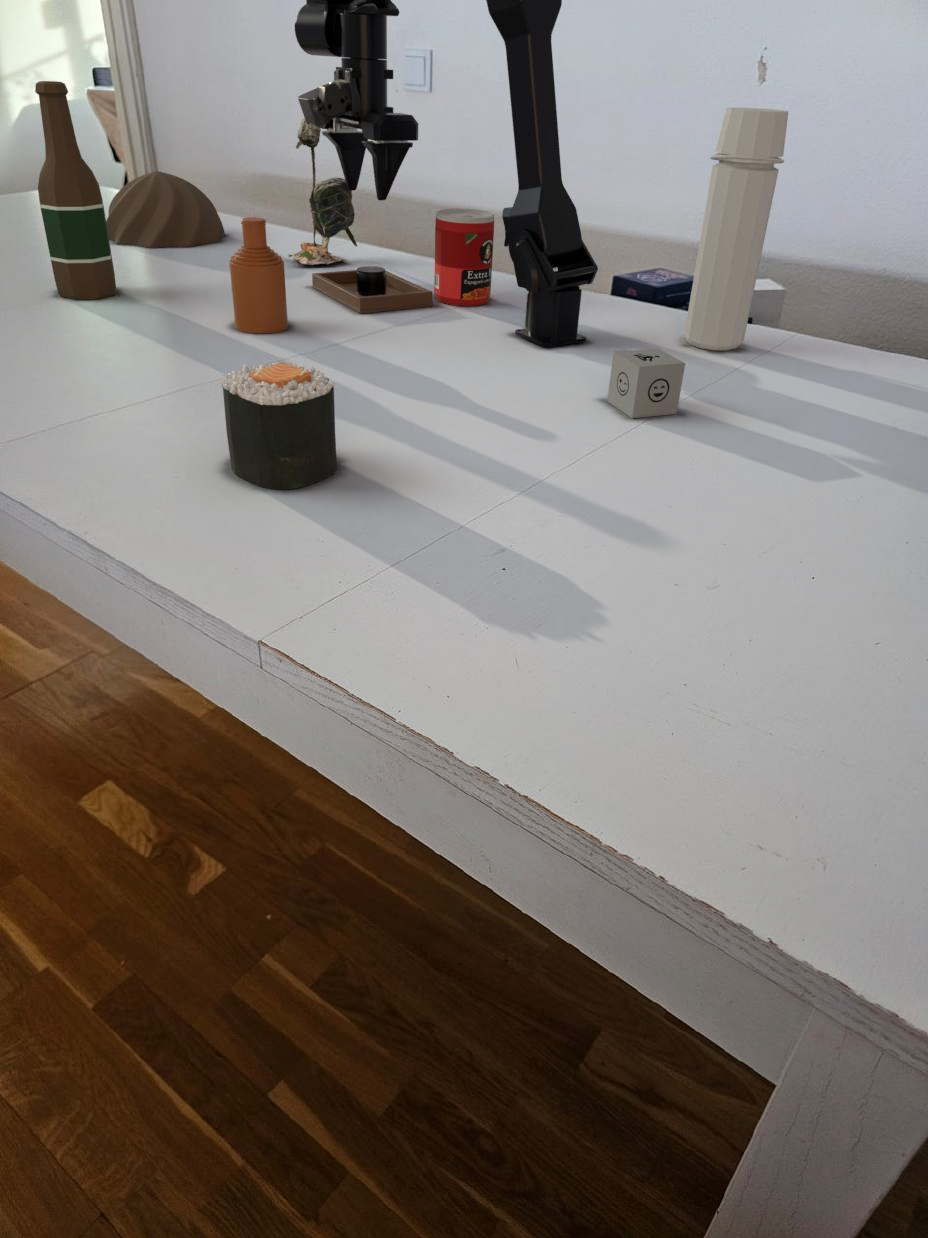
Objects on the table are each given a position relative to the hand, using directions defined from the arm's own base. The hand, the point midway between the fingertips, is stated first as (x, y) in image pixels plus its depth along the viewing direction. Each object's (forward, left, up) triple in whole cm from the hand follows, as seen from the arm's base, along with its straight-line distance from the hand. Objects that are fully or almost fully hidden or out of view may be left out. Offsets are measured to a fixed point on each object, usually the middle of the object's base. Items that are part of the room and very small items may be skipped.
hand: (366, 194), depth 121 cm
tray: (-5, +2, -12) cm, 13 cm away
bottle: (-14, +21, -12) cm, 28 cm away
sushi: (-55, +34, -12) cm, 66 cm away
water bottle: (-41, -27, -12) cm, 51 cm away
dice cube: (-56, -3, -12) cm, 57 cm away
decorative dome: (+46, +16, -12) cm, 50 cm away
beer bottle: (+10, +36, -12) cm, 39 cm away
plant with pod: (+18, -1, -12) cm, 22 cm away
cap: (-5, +2, -12) cm, 13 cm away
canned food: (-11, -9, -12) cm, 19 cm away
